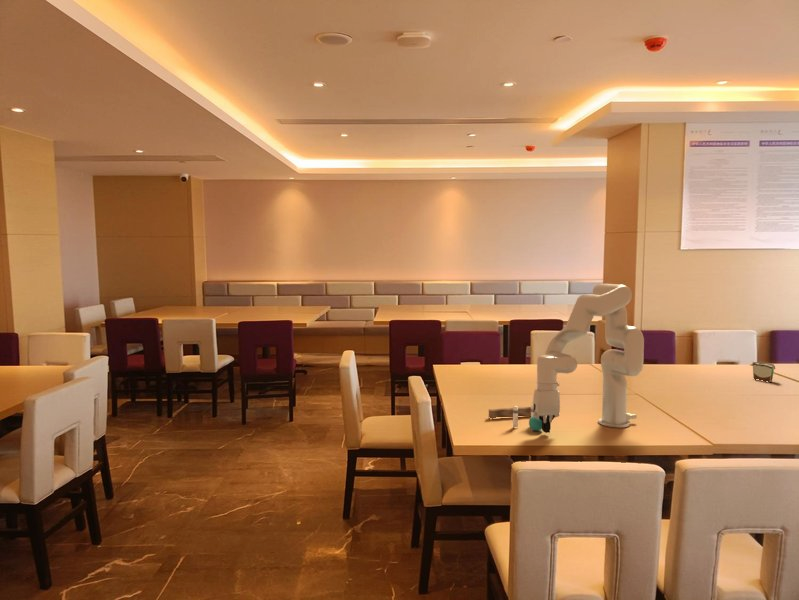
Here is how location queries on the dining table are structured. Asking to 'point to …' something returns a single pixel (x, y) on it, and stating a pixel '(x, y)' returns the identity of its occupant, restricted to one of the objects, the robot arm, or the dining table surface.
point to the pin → (515, 416)
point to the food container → (763, 371)
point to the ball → (535, 424)
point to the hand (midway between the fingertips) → (546, 431)
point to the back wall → (509, 412)
